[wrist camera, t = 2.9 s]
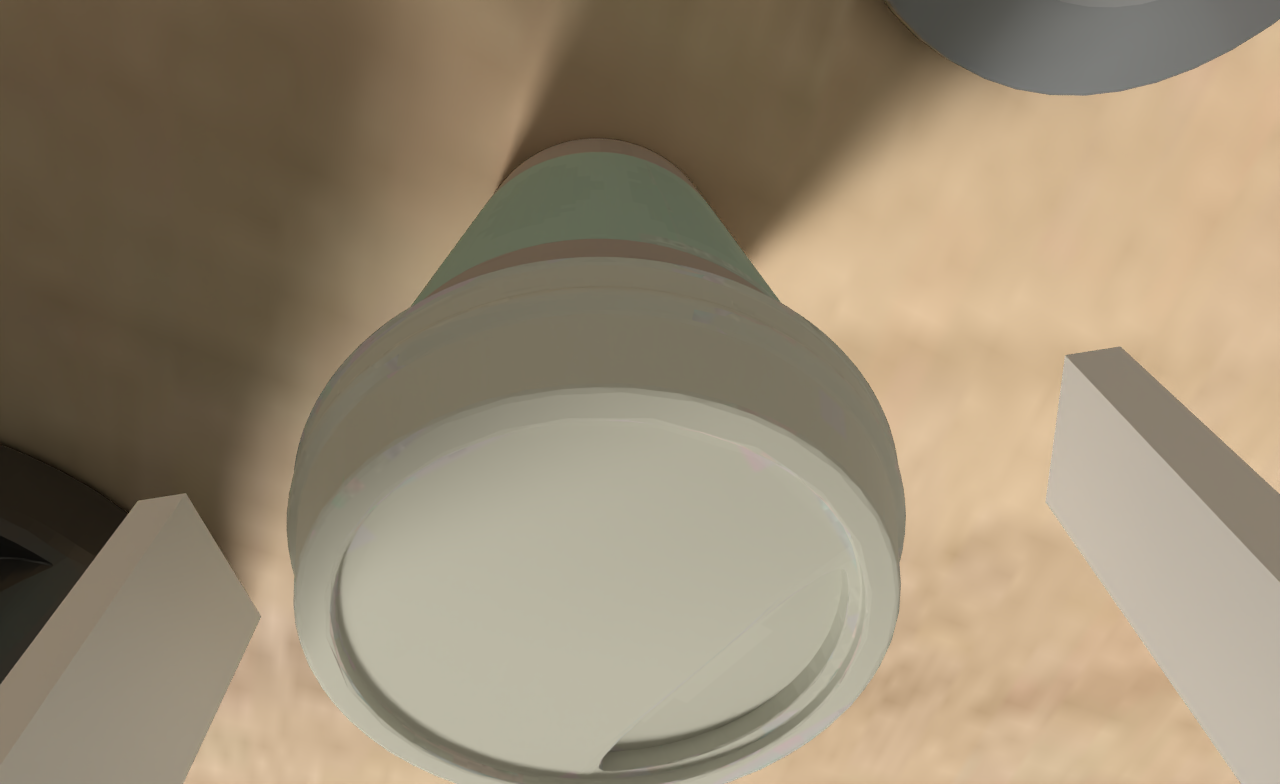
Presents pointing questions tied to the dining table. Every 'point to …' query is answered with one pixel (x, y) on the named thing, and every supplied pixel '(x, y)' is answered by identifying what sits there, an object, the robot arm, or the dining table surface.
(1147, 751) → the dining table surface
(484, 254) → the coffee cup
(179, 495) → the robot arm
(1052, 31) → the saucer
